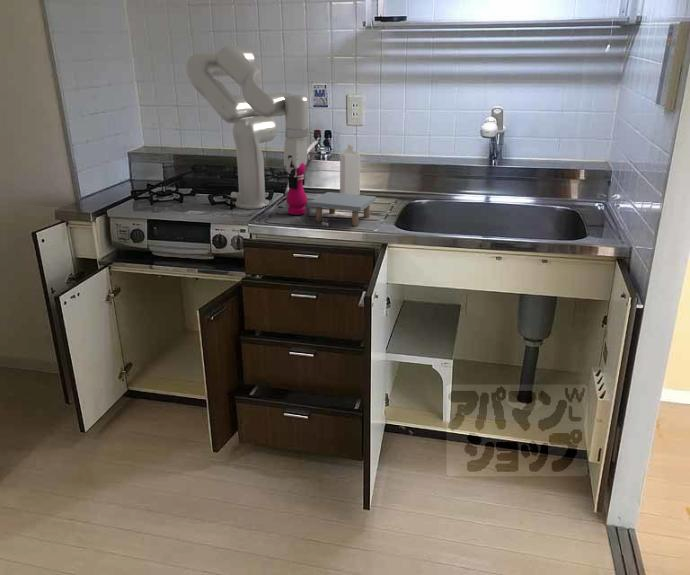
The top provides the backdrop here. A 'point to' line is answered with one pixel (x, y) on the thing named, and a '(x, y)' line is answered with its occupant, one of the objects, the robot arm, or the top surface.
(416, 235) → the top surface
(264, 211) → the top surface
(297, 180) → the robot arm
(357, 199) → the stool
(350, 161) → the milk
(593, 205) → the top surface
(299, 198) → the pepper mill
